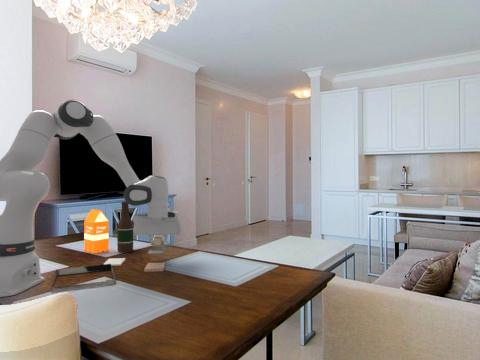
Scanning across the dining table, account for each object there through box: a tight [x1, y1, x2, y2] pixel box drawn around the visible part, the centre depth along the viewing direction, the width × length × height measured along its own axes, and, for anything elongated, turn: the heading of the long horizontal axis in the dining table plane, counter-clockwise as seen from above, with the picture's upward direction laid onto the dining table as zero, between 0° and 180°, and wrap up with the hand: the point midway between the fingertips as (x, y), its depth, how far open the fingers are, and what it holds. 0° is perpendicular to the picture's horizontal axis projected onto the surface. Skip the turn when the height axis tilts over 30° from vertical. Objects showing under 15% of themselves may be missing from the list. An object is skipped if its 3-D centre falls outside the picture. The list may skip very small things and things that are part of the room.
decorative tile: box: [49, 263, 116, 293], centre depth 121 cm, size 20×3×20 cm
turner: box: [147, 235, 165, 255], centre depth 144 cm, size 12×6×5 cm, turn 7°
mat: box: [103, 257, 126, 267], centre depth 143 cm, size 10×7×1 cm
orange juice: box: [83, 208, 110, 254], centre depth 165 cm, size 8×9×20 cm
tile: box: [144, 261, 166, 273], centre depth 135 cm, size 2×7×9 cm
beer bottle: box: [116, 200, 134, 253], centre depth 165 cm, size 8×8×24 cm
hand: (158, 245), depth 147 cm, fingers closed on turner, 3 cm apart
